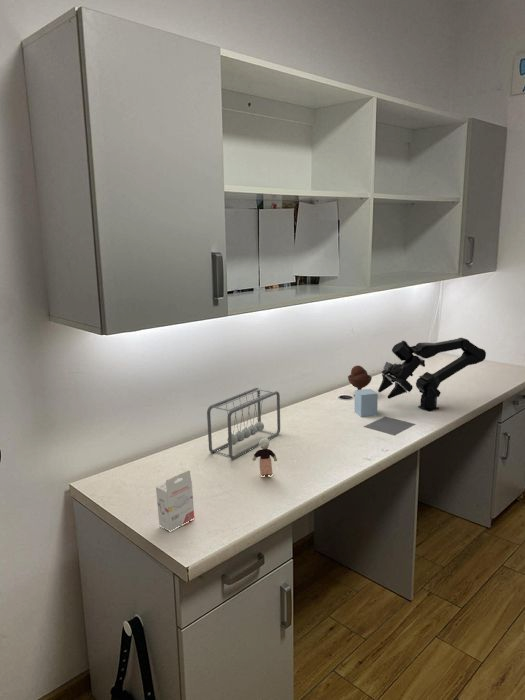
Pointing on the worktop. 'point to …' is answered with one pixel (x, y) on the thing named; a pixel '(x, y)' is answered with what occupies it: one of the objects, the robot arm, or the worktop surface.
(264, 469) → the grandmother figurine
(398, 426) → the mat
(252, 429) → the newton's cradle
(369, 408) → the cover
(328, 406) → the worktop surface
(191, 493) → the ink cartridge box
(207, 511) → the worktop surface
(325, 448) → the worktop surface
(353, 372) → the ice cream bowl
